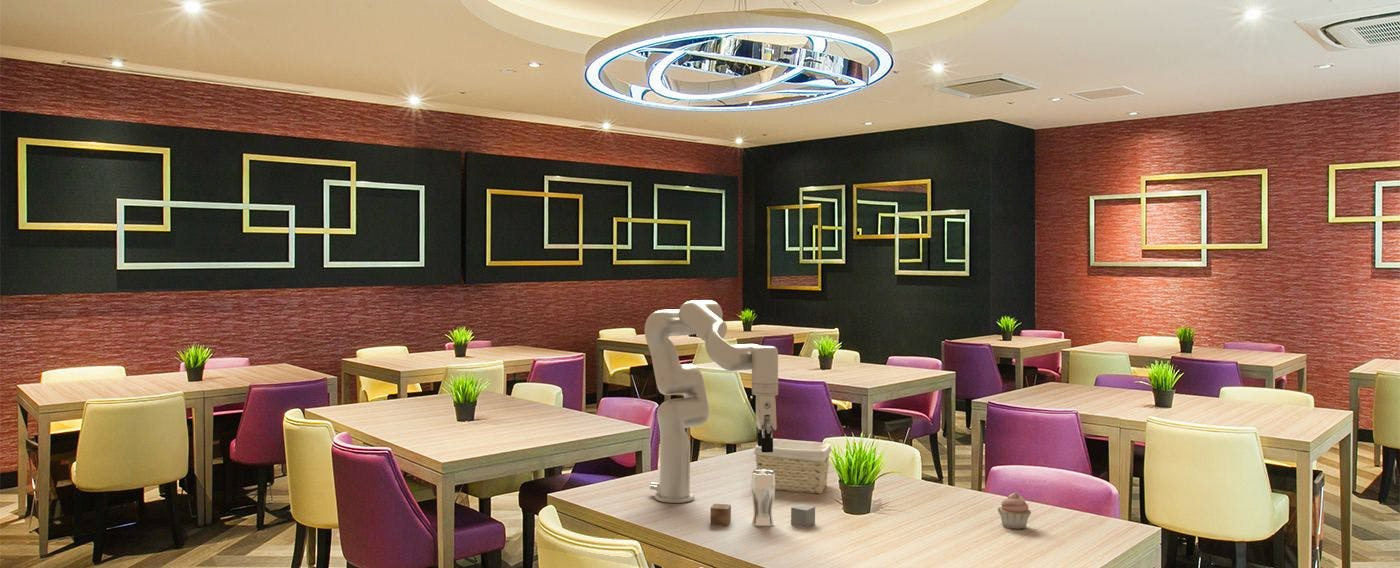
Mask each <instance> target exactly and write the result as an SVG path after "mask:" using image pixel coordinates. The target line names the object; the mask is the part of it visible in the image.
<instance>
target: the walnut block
mask: <svg viewBox="0 0 1400 568" xmlns="http://www.w3.org/2000/svg"><path fill="white" fill-rule="evenodd" d="M709 511H710V516H709V517H710V519H709V521H710V523H709V524H710V526H716V527H717V526H718V527H719V526H720V527H728V526H729V525H730V524H731V522H732V519H731V518H732V504H724V503H713V504H712V505H711V507H710V510H709Z"/></svg>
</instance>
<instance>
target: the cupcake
mask: <svg viewBox="0 0 1400 568" xmlns="http://www.w3.org/2000/svg"><path fill="white" fill-rule="evenodd" d="M1029 508H1030V507H1029V505H1028V503H1027V502H1026V501H1025V499H1024V498H1023V497H1022V496H1021V494H1018V493H1017V492H1013V493H1010V494H1009V495H1008V496H1007V498H1004V499H1002V501H1001V506H999V507H997V511H998V515H1000V520H1001V525H1002V527H1004V526H1005V527H1004V528H1006V527H1008V528H1007V529H1010V528H1015V529H1014V530H1021V529H1020V528H1024V529H1025V528H1026V527H1027V523H1028V520H1029V518H1030V516H1031V515H1032V510H1030V509H1029Z"/></svg>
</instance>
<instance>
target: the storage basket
mask: <svg viewBox="0 0 1400 568" xmlns="http://www.w3.org/2000/svg"><path fill="white" fill-rule="evenodd" d="M831 451H832V444H831V443H826V442H822V441H821V442H820V441H809V440H808V441H807V440H794V439H784V438H773V452H762V451H761V446H758V443H757V444H756V445H755V447H754V451H753V452H754V453H753V454H754V455H755V462H756V469H755V470H770V471H773V472H775V491H787V492H789V491H790V492H794V493H808V494H809V493H810V494H822V492H823V491H824V490H825V488H826V487H827V483H828V472H829V463H830V454H831ZM825 486H826V487H825Z"/></svg>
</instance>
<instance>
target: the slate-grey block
mask: <svg viewBox="0 0 1400 568" xmlns="http://www.w3.org/2000/svg"><path fill="white" fill-rule="evenodd" d="M815 524H816V506H813V505H807V504H801V503H799V504H797V505H794V506H791V510H790V525H792V526H795V527H801V528H805V529H806V528H809V527H811V526H814V525H815Z"/></svg>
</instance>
